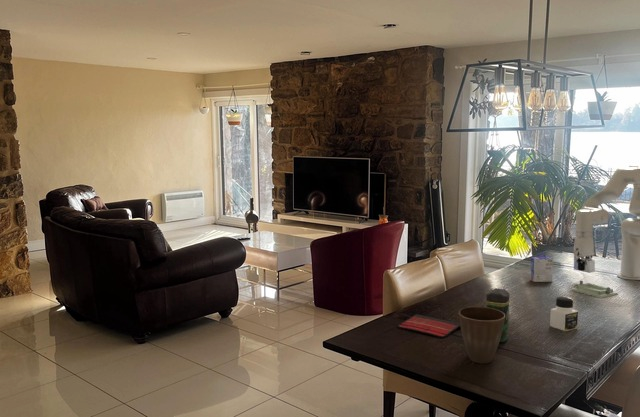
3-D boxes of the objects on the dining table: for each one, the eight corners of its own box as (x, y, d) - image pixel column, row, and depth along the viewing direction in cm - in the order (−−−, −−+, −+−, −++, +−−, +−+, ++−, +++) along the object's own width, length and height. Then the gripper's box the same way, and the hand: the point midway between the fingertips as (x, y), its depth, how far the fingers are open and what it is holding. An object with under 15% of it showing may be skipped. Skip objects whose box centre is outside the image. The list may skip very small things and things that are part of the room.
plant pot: (511, 367, 181) (512, 319, 179) (466, 369, 180) (467, 321, 178) (493, 350, 195) (494, 305, 194) (451, 351, 194) (452, 307, 192)
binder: (416, 313, 232) (462, 323, 219) (416, 318, 233) (462, 329, 219) (395, 324, 220) (443, 336, 207) (395, 330, 221) (443, 342, 207)
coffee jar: (505, 344, 201) (506, 294, 198) (482, 341, 204) (484, 291, 202) (510, 336, 209) (511, 288, 207) (488, 333, 213) (489, 285, 211)
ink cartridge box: (548, 279, 293) (549, 252, 292) (552, 282, 288) (554, 254, 286) (529, 279, 294) (530, 252, 292) (533, 282, 288) (534, 254, 286)
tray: (587, 286, 278) (588, 279, 277) (617, 294, 263) (618, 286, 263) (571, 290, 272) (571, 282, 272) (600, 298, 258) (601, 289, 258)
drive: (579, 268, 289) (579, 256, 288) (594, 271, 281) (594, 259, 280) (573, 269, 287) (573, 258, 286) (589, 272, 279) (589, 261, 278)
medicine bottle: (565, 331, 214) (566, 301, 212) (549, 326, 220) (550, 296, 218) (577, 328, 217) (578, 298, 215) (562, 323, 223) (563, 294, 222)
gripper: (589, 230, 288) (588, 265, 291) (566, 235, 281) (566, 270, 283) (602, 232, 282) (601, 268, 284) (579, 237, 274) (579, 273, 277)
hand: (584, 269), depth 284 cm, fingers closed on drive, 4 cm apart
